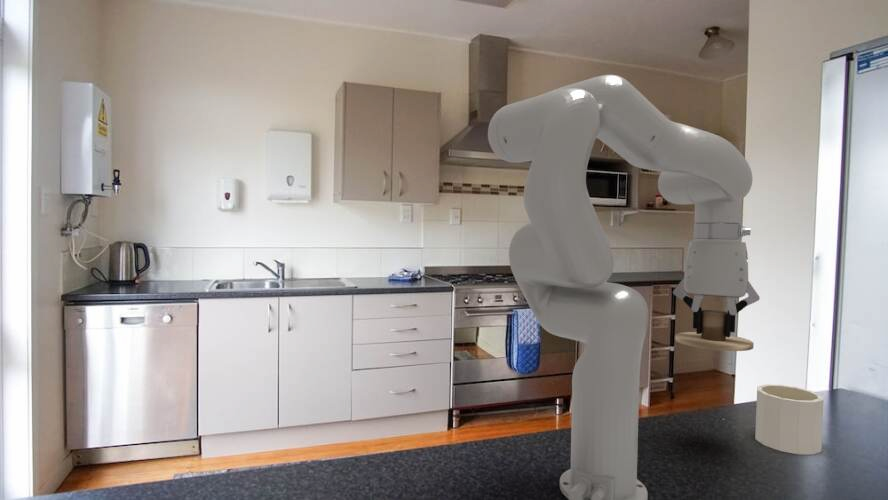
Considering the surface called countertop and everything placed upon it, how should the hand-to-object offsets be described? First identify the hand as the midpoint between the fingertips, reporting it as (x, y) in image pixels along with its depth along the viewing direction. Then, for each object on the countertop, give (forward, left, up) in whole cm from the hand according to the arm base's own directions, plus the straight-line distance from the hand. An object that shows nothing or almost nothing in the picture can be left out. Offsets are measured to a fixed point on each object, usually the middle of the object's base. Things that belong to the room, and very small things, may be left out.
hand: (713, 333), depth 94 cm
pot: (+10, -12, -21) cm, 26 cm away
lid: (0, 0, -2) cm, 2 cm away
